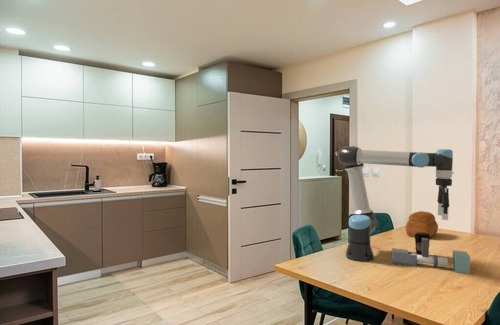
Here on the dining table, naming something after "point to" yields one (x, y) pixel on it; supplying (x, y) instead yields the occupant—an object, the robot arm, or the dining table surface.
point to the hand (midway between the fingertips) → (442, 217)
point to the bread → (421, 224)
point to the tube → (430, 259)
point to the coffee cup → (420, 241)
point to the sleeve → (404, 257)
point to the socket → (461, 262)
